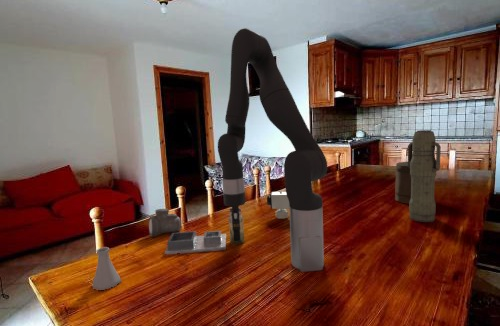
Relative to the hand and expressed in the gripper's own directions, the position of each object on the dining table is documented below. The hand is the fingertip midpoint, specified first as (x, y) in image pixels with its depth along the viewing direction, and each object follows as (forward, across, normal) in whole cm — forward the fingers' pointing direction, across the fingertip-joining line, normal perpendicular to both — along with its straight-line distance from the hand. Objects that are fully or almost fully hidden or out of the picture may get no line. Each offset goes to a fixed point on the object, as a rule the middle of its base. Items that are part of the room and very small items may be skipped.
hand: (236, 236), depth 103 cm
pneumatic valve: (+2, +23, -20) cm, 31 cm away
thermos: (+2, +9, -74) cm, 75 cm away
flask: (+2, -22, +36) cm, 42 cm away
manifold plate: (+2, 0, +14) cm, 14 cm away
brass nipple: (+2, 0, 0) cm, 2 cm away
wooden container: (+2, +34, -86) cm, 93 cm away
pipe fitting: (+2, +14, +28) cm, 31 cm away
